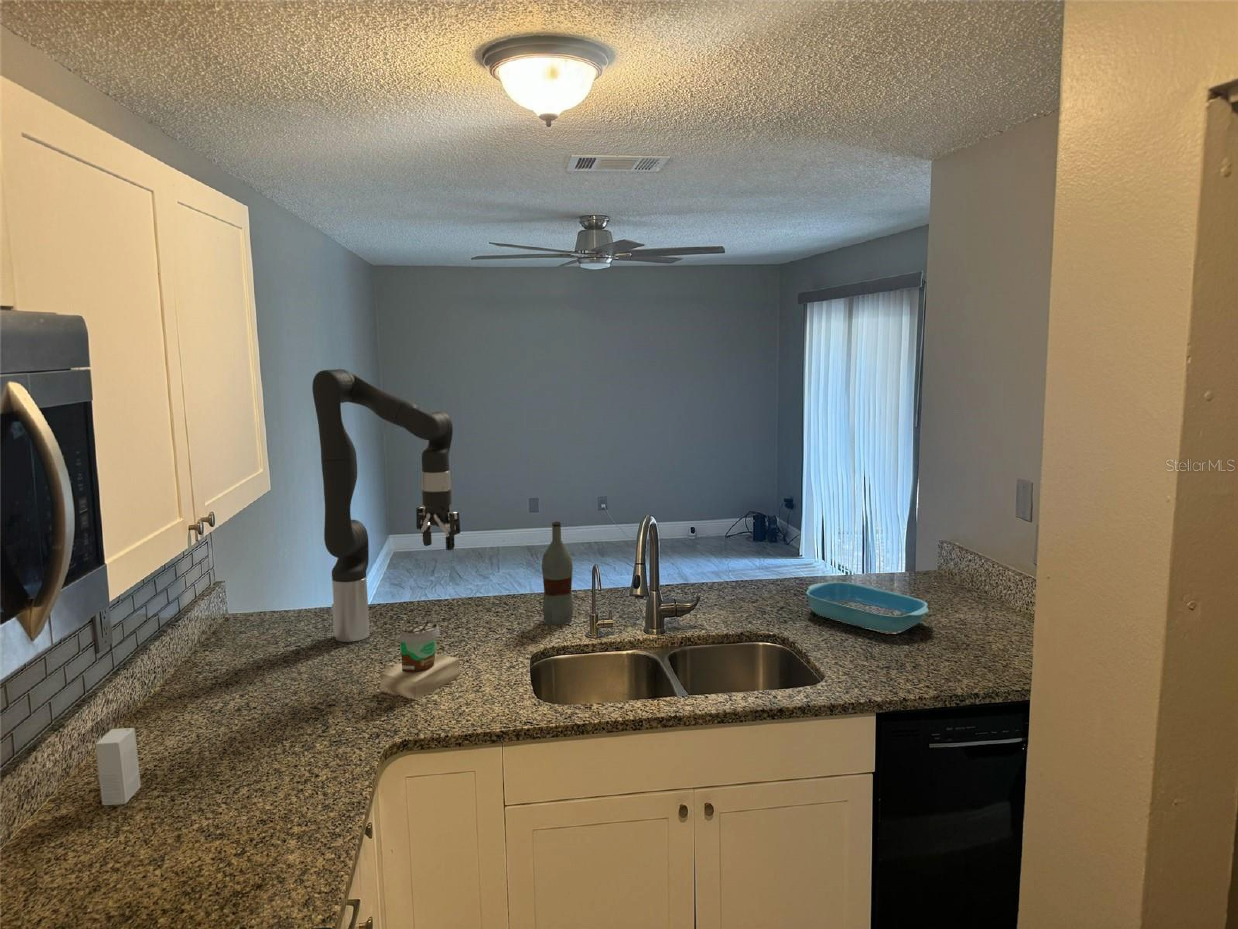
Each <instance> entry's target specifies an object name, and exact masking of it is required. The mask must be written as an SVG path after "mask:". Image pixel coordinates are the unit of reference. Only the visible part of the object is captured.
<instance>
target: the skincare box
mask: <svg viewBox="0 0 1238 929" xmlns="http://www.w3.org/2000/svg"><path fill="white" fill-rule="evenodd" d="M94 747H95V755H96V762H97V763H96V764H97V770H98V780H99V787H100V788H99V789H100V796H101V804H102V806H117V805H119V806H120V805H126V804H127V803H128V802H129V801H130V799H132V797H133V796H134V795H135V794H136V793H137V792H138V791H139V789H140V788H142V784H141V776H140V765H139V757H138V748H137V739H136V730H135V727H130V728H129V727H128V728H112V729H110V730H109V731H108V732H107V733H106V734H104V736H103V737H102V738H100V739H99V740H98V741H97V742H96V743H95V746H94Z"/></svg>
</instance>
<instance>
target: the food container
mask: <svg viewBox="0 0 1238 929" xmlns="http://www.w3.org/2000/svg"><path fill="white" fill-rule="evenodd" d="M440 634H441V632H440V627H439V624H438V623H437V621H435V620H433V619H432V618H427V617H426V621H425V622H424V623H422V624H420V625H417V626H415V627H413V628H412V629H410V630H409V631H408V632H400V633H399V637H398V642H400V654H401V663H402V671H403V672H421V671H426V670H428V669H430V668H432V667H433V666H434V660H435V654H436V647H437V639H438V638H437V637H438V636H440Z"/></svg>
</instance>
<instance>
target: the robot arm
mask: <svg viewBox="0 0 1238 929" xmlns="http://www.w3.org/2000/svg"><path fill="white" fill-rule="evenodd" d="M311 386H312V397H313V402H314V408H315V412H316V417H317V418H316V419H317V425H318V433H319V434H318V437H319V445H320V459H321V460H320V461H321V474H322V481H323V499H324V527H323V528H324V532H323V533H324V534H323V537H324V539H323V540H324V545H325V548H326V550H327V552H328V553H329V554H330V555H331V556H333V557H334V558H337V559H336V563H335V565H334V566H333V568H332V570H331V583H332V584H331V585H332V600H333V603H332V604H331V615H332V616H331V617H332V630H333V631H332V632H333V633H332V634H333V637H335V640H336V641H338V642H342V643H344V642H345V643H350V642H351V643H352V642H357V641H363V640H365V639H367V638H368V637H369V636H370V618H369V598H368V596H369V595H368V581H367V578H368V577H367V569H368V567H369V562H370V561H369V559H370V558H369V557H370V556H369V552H370V551H369V550H370V549H369V547H370V545H369V534H368V530H367V528H366V527H365V525H364V524H363V523H362V522H361V521H359V520H357V519H352V517H351V515H352V514H351V505H352V499H353V495H354V492H355V488H356V484H357V480H358V459H357V458H358V457H357V451H356V450H357V449H356V447H355V445H354V443H353V441H352V439H351V437H350V436H349V433H348V432H347V431H346V430H347V429H346V428H345V426H344V423H343V419H342V408H341V404H344V403H350V404H356V405H358V406H359V405H360V406H363V407H365V408H367V409H368V410H370V411H372V412H373V413H374V414H375V415H376V416H378V417H379V418H381V419H382V420H384V421H386V422H388V423H391V424H393V425H395V426H398V427H401V428H404V429H405V430H406V431H407V432H408V433H410V434H412V435H413V436H415V437H416V438H419V439H420V440H425V441H428V444H427V447H426V448H425V449H424V450H423V451H422V453H421V469H422V471H421V498H422V501H421V503H422V506H420V507H416V509H415V512H416V514H415V515H416V518H415V519H416V520H415V521H416V529H417V530H421V532H422V542H423V546H424V547H428V546H429V547H430V546H431V545H432V540H433V539H432V531H431V530H432V528H433V527H434V526H436V527H439V528H440V530H441V531H443V532H444V535H445V549H446V550H447V551H451V550H454V549H455V536H456V535H459V534H461V522H460V521H461V520H460V513H459V511H458V510H457V511H451V509H450V507H451V505H452V502H453V501H452V481H451V480H452V479H451V475H450V457H449V456H450V455H449V454H450V450H451V445H452V440H453V433H454V432H453V431H454V427H453V422H452V419H451V417H450V415H448V414H447V413H445V412H443V411H435V412H426V411H423V410H421V409H420V407H419V406H418V405H417V404H416V403H413V402H411V401H409V400H407V399H404V398H401V397H398V396H395V395H394V394H391V393H389V392H386V391H384V390H381V389H379V388H378V387H376V386H374V385H372V384H370V383H368V382H367V381H365V380H364V379H362V377H361V378H360V377H359V376H357V375H356V374H354V373H353V372H351V371H349V370H347V369H342V368H341V369H340V368H338V369H336V368H335V369H324V370H320V371H317V373H316V374H315V375H314V377H313V379H312V385H311Z"/></svg>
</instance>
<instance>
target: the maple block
mask: <svg viewBox="0 0 1238 929" xmlns="http://www.w3.org/2000/svg"><path fill="white" fill-rule="evenodd" d="M460 665H461V664H460V658H457V657H453V656H449V655H444V654H439V653H435V660H434V666H433V667H432V668H430V669H428V670H426V671H421V672H403V671H402V662H400V663H398V664H397V665H396V664H395V665H394V666H392V667H390V668H388V669H386V670H383V671H381V672H380V673H379V680H380V681H379V683H380V692H382V691H385V692H384V693H386V692H388V693H387V694H390V693H391V694H390V695H394V696H398V695H400V696H399V697H401V696H403V697H402V698H405V697H406V698H407V699H409V698H412V699H411V700H413V699H415V700H414V701H417V700H419V699H421V698H423V697H425V696H426V694H427V695H428V694H430V693H432V692H434V691H435V689H436V690H437V689H439V688H441V687H442V685H443V686H444V684H445V685H446V684H448V683H450V682H452V681H453V680H455V678H456V679H457V678H460V677H461V668H460ZM449 681H450V682H449ZM431 691H432V692H431ZM429 692H430V693H429ZM424 695H425V696H424ZM422 696H423V697H422ZM418 698H419V699H418Z"/></svg>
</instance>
